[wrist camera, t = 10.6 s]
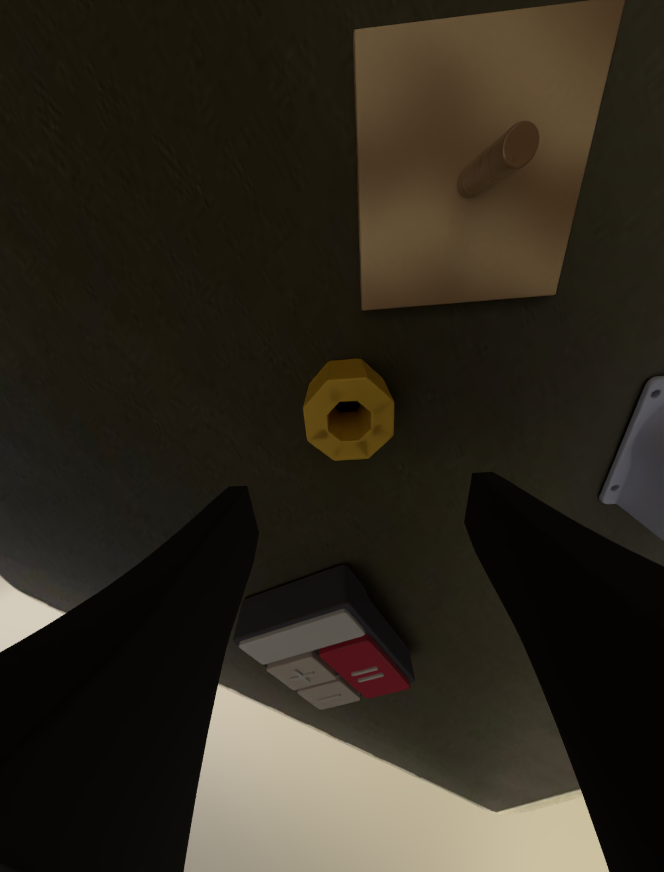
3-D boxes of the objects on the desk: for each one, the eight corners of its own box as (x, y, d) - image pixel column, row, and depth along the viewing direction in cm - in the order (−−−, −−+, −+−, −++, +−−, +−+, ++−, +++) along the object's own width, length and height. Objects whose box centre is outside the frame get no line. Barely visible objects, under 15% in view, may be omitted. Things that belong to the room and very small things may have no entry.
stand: (546, 294, 16) (625, 299, 12) (360, 309, 17) (370, 320, 12) (609, 12, 12) (776, -152, 7) (352, 43, 12) (362, -94, 8)
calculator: (318, 715, 31) (227, 651, 24) (319, 667, 35) (240, 599, 28) (418, 692, 29) (349, 613, 22) (408, 642, 32) (345, 562, 26)
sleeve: (383, 426, 20) (393, 457, 16) (314, 430, 20) (309, 462, 17) (383, 356, 18) (395, 375, 14) (306, 362, 18) (299, 382, 15)
